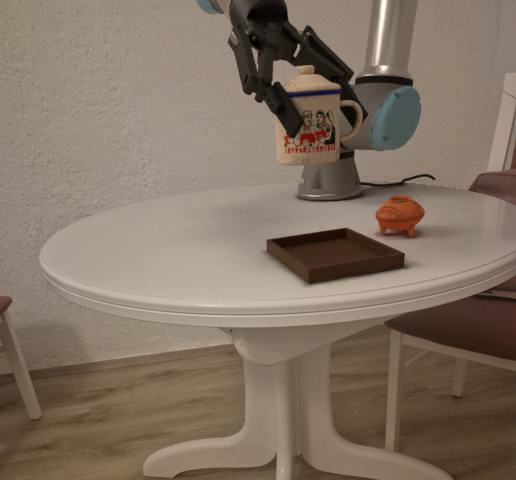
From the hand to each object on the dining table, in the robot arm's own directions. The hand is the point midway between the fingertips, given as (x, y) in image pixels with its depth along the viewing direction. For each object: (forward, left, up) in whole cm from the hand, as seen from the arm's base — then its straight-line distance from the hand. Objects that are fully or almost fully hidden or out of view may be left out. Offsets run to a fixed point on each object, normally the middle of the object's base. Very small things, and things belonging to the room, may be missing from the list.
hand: (331, 126), depth 63 cm
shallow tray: (0, -1, -18) cm, 18 cm away
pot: (-16, -8, -18) cm, 26 cm away
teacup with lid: (+1, -3, -5) cm, 5 cm away
